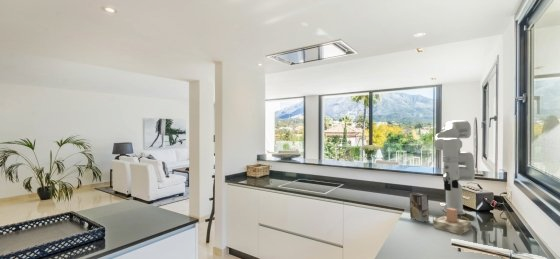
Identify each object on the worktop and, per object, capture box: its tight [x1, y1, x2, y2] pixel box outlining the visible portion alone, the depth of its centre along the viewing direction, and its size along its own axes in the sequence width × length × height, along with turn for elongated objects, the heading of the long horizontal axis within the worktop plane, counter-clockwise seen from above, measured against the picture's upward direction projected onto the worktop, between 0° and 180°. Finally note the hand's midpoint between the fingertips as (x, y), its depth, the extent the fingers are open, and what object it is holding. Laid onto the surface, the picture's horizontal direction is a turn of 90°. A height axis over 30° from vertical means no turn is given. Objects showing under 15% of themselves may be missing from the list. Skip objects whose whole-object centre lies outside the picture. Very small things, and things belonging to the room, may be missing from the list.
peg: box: [445, 208, 458, 223], centre depth 147 cm, size 4×4×11 cm
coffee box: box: [409, 192, 430, 223], centre depth 162 cm, size 9×6×16 cm
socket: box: [432, 215, 472, 235], centre depth 147 cm, size 14×14×4 cm
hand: (451, 189), depth 147 cm, fingers open, 9 cm apart
